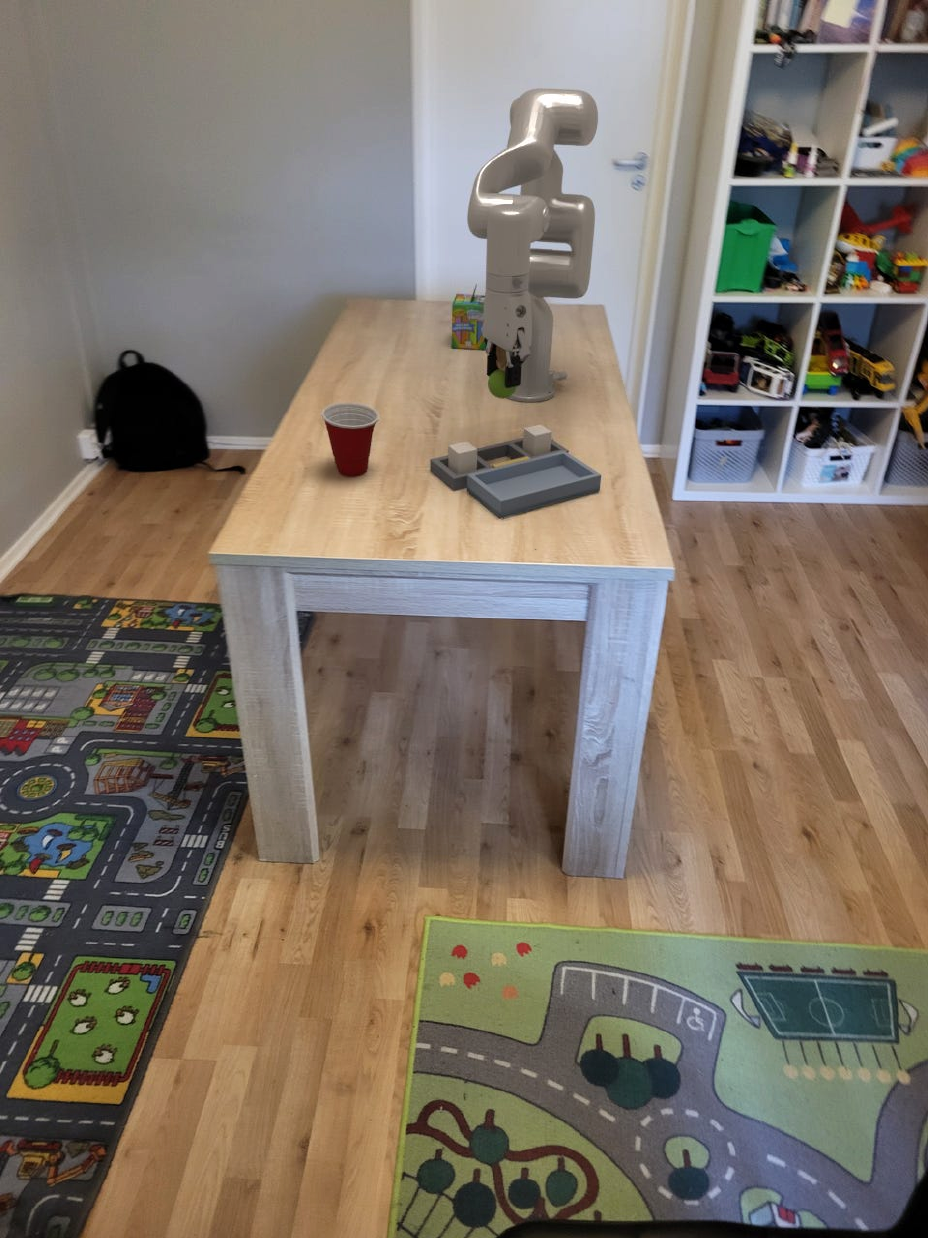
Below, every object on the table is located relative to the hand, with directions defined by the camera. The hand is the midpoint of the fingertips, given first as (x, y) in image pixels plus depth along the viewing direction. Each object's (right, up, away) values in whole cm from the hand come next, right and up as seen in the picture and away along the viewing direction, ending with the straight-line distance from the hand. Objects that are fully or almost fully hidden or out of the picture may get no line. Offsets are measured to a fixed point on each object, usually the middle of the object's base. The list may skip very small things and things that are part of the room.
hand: (503, 379), depth 173 cm
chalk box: (-6, +27, +69) cm, 74 cm away
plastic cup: (-29, -16, +8) cm, 34 cm away
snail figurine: (0, -3, +2) cm, 4 cm away
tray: (+6, -21, +1) cm, 21 cm away
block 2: (+7, -12, +13) cm, 20 cm away
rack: (0, -15, +10) cm, 18 cm away
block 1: (-8, -17, +6) cm, 20 cm away
